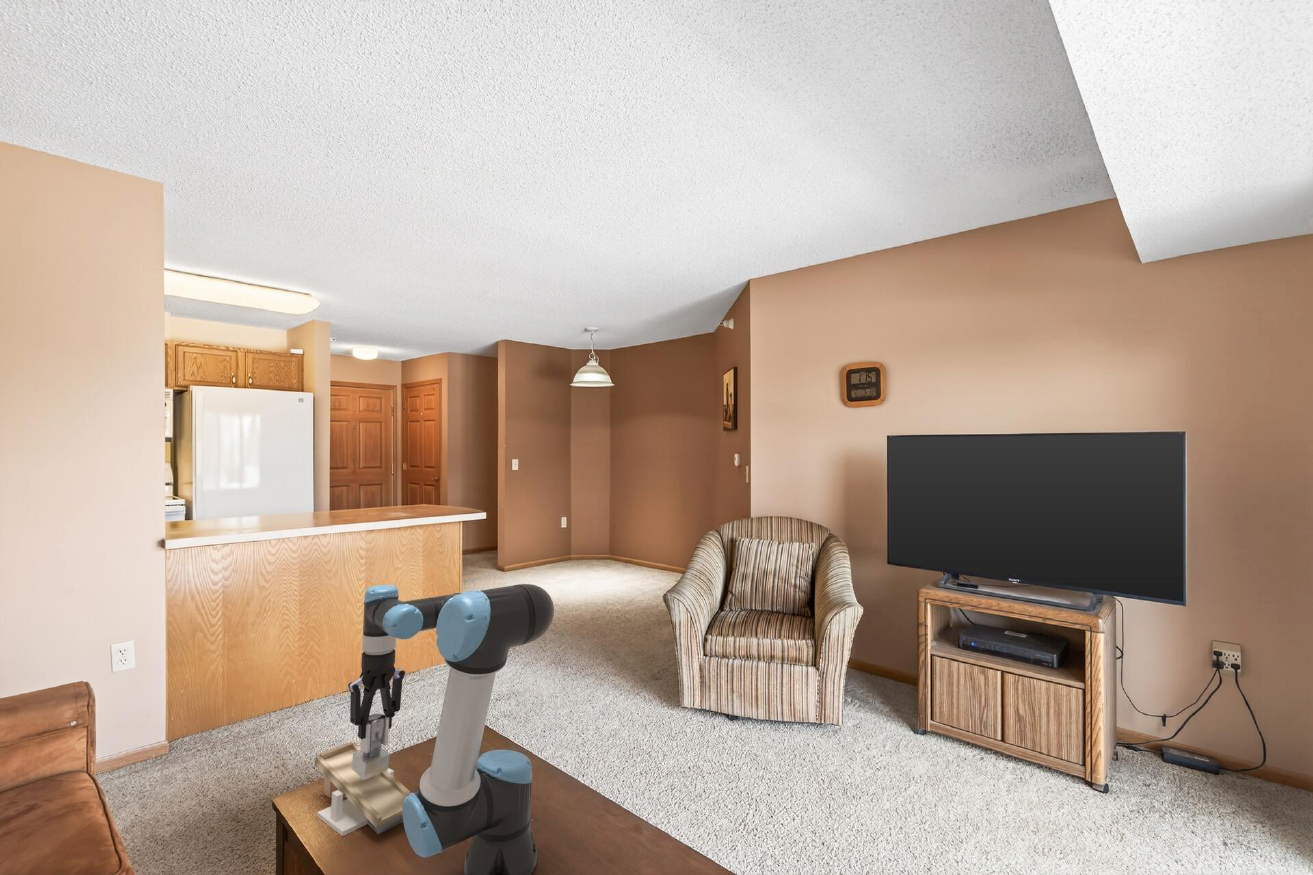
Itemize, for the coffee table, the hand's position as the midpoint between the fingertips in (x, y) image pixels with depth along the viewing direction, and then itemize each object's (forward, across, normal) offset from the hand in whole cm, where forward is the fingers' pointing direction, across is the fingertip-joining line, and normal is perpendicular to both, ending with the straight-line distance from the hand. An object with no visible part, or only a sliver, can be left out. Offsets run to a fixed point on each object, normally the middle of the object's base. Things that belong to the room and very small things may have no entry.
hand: (374, 746), depth 145 cm
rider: (+6, 0, -2) cm, 6 cm away
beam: (+13, 0, -4) cm, 14 cm away
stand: (+17, 0, -8) cm, 18 cm away
